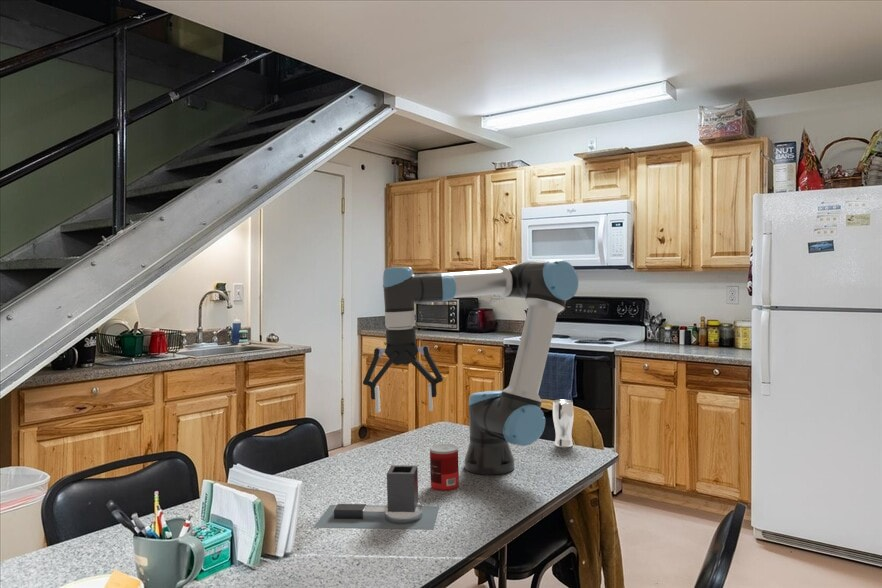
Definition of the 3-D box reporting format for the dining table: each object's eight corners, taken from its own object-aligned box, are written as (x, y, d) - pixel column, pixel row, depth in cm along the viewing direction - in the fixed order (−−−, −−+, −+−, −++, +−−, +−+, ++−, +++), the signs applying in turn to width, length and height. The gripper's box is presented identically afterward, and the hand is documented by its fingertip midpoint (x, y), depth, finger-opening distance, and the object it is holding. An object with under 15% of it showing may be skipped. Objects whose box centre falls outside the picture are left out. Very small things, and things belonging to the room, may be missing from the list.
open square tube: (418, 502, 145) (417, 465, 145) (414, 512, 139) (413, 473, 138) (392, 501, 146) (391, 465, 145) (387, 511, 139) (386, 473, 139)
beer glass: (576, 447, 199) (575, 403, 199) (555, 448, 199) (554, 403, 199) (571, 442, 206) (571, 399, 206) (551, 442, 206) (550, 399, 206)
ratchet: (424, 509, 146) (423, 487, 146) (419, 524, 137) (419, 500, 137) (339, 508, 148) (338, 486, 148) (328, 523, 139) (328, 499, 139)
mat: (439, 507, 148) (439, 506, 148) (433, 531, 134) (433, 529, 134) (330, 506, 151) (330, 504, 151) (313, 529, 137) (313, 527, 137)
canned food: (462, 483, 166) (461, 444, 166) (453, 493, 158) (452, 452, 158) (436, 481, 168) (435, 443, 168) (426, 490, 161) (425, 450, 161)
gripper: (450, 324, 153) (453, 405, 154) (354, 328, 155) (359, 409, 156) (448, 327, 146) (452, 412, 147) (348, 331, 147) (353, 416, 148)
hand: (404, 411), depth 151 cm, fingers open, 13 cm apart
